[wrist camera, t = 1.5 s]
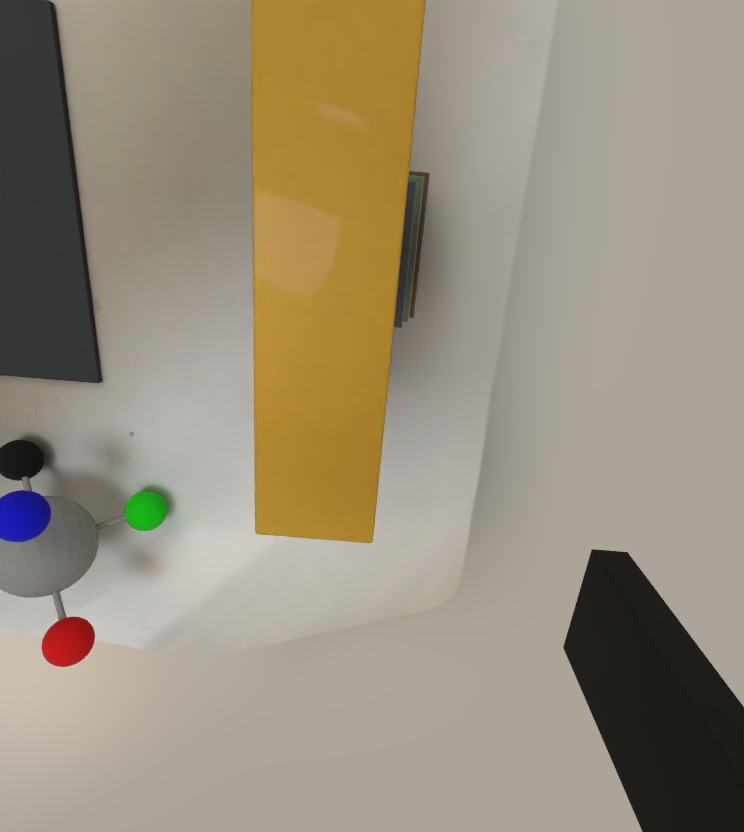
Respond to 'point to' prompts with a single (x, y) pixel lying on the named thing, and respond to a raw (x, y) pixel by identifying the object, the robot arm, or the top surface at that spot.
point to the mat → (40, 209)
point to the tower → (411, 246)
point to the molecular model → (55, 546)
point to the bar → (327, 251)
